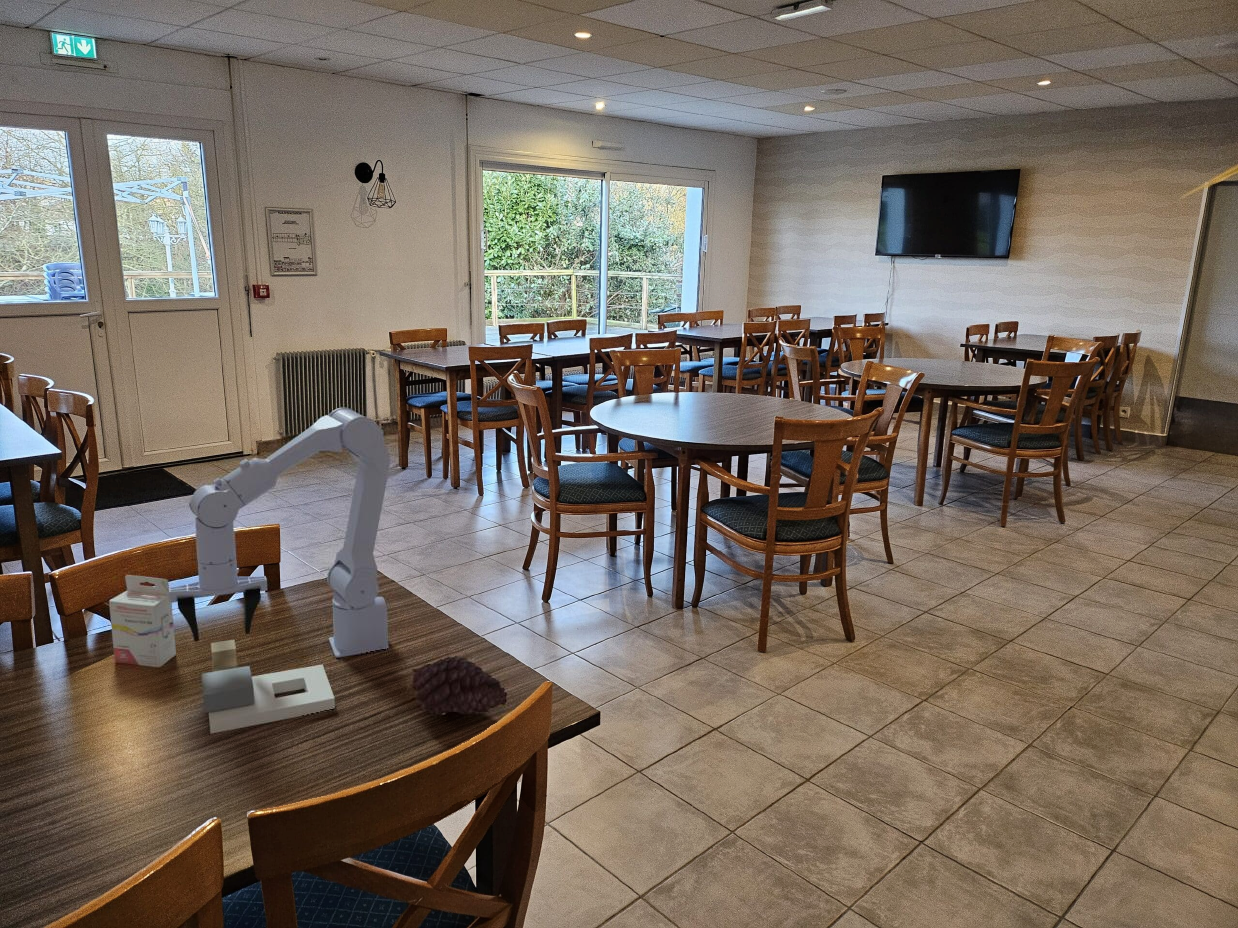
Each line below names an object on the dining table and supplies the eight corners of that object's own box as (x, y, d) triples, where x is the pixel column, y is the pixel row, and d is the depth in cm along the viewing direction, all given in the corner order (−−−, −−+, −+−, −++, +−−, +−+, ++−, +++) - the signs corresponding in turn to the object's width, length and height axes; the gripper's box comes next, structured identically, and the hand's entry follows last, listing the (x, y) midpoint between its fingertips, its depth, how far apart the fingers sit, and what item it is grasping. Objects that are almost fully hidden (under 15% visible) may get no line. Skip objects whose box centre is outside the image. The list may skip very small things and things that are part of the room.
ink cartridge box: (113, 663, 145) (104, 584, 141) (132, 650, 150) (124, 573, 146) (160, 668, 144) (152, 588, 141) (177, 654, 149) (171, 577, 145)
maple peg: (236, 671, 145) (234, 639, 143) (237, 680, 142) (235, 648, 140) (213, 675, 143) (210, 642, 142) (214, 685, 140) (211, 652, 138)
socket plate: (322, 674, 145) (322, 664, 144) (334, 709, 135) (334, 698, 134) (207, 695, 137) (206, 684, 136) (210, 733, 126) (209, 721, 126)
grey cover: (250, 682, 137) (249, 665, 136) (254, 703, 131) (253, 685, 130) (202, 690, 134) (201, 673, 133) (204, 712, 128) (203, 694, 127)
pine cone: (518, 712, 137) (519, 657, 134) (488, 744, 128) (489, 685, 125) (424, 689, 142) (423, 635, 140) (389, 718, 133) (388, 661, 131)
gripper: (262, 545, 144) (266, 618, 147) (166, 555, 137) (173, 631, 140) (266, 559, 138) (270, 635, 141) (166, 570, 131) (173, 650, 134)
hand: (222, 634), depth 140 cm, fingers open, 7 cm apart
